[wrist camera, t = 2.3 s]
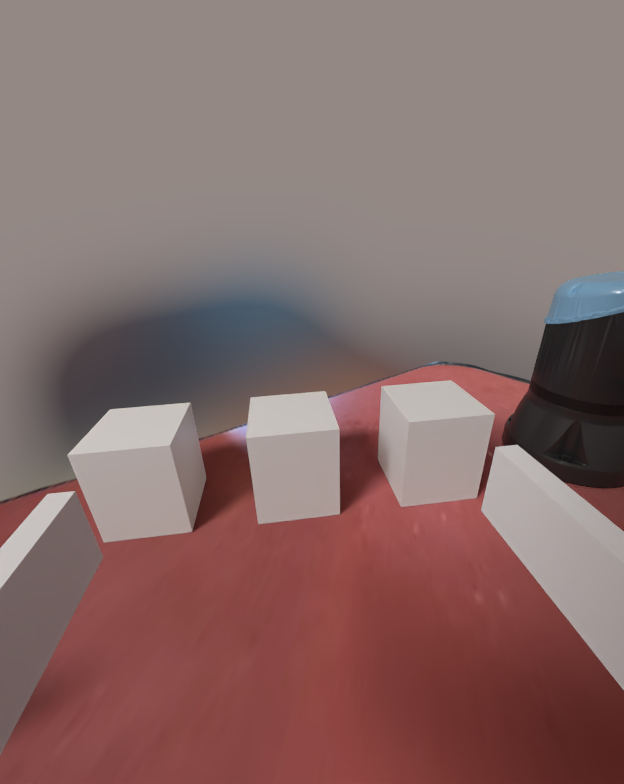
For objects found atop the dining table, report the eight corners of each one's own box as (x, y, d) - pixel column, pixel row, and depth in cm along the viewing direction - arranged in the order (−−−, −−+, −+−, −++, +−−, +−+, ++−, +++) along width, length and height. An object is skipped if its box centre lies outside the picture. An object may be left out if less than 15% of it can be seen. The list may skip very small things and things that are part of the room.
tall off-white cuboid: (327, 464, 45) (325, 391, 41) (340, 514, 37) (339, 429, 32) (260, 471, 44) (250, 397, 40) (258, 524, 36) (245, 438, 32)
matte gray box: (206, 477, 44) (190, 402, 39) (192, 532, 36) (169, 445, 31) (135, 485, 43) (109, 409, 38) (103, 542, 35) (67, 455, 30)
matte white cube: (440, 452, 47) (451, 380, 42) (476, 498, 39) (494, 414, 34) (377, 459, 46) (381, 386, 41) (401, 507, 38) (409, 422, 33)
